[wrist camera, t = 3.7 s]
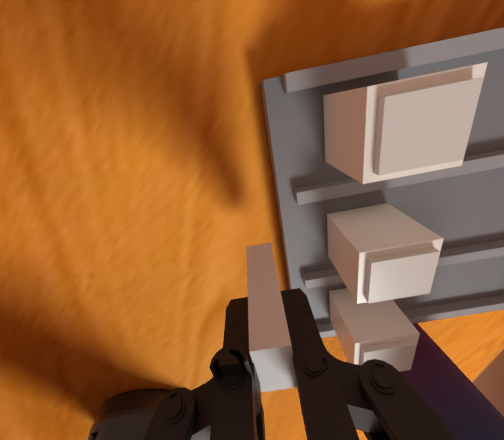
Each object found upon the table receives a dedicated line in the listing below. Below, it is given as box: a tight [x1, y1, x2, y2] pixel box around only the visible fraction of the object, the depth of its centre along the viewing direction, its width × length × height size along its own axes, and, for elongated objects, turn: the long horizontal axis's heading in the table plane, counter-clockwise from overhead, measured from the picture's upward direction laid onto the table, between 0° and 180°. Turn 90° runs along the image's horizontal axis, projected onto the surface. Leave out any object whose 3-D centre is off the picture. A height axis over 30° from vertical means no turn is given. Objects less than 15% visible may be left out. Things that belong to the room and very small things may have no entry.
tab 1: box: [323, 62, 488, 184], centre depth 10 cm, size 4×4×5 cm
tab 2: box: [329, 288, 420, 372], centre depth 16 cm, size 4×4×5 cm
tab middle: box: [327, 203, 444, 304], centre depth 13 cm, size 4×4×5 cm
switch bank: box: [260, 27, 504, 338], centre depth 16 cm, size 20×20×3 cm
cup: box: [400, 323, 504, 440], centre depth 17 cm, size 7×7×15 cm
